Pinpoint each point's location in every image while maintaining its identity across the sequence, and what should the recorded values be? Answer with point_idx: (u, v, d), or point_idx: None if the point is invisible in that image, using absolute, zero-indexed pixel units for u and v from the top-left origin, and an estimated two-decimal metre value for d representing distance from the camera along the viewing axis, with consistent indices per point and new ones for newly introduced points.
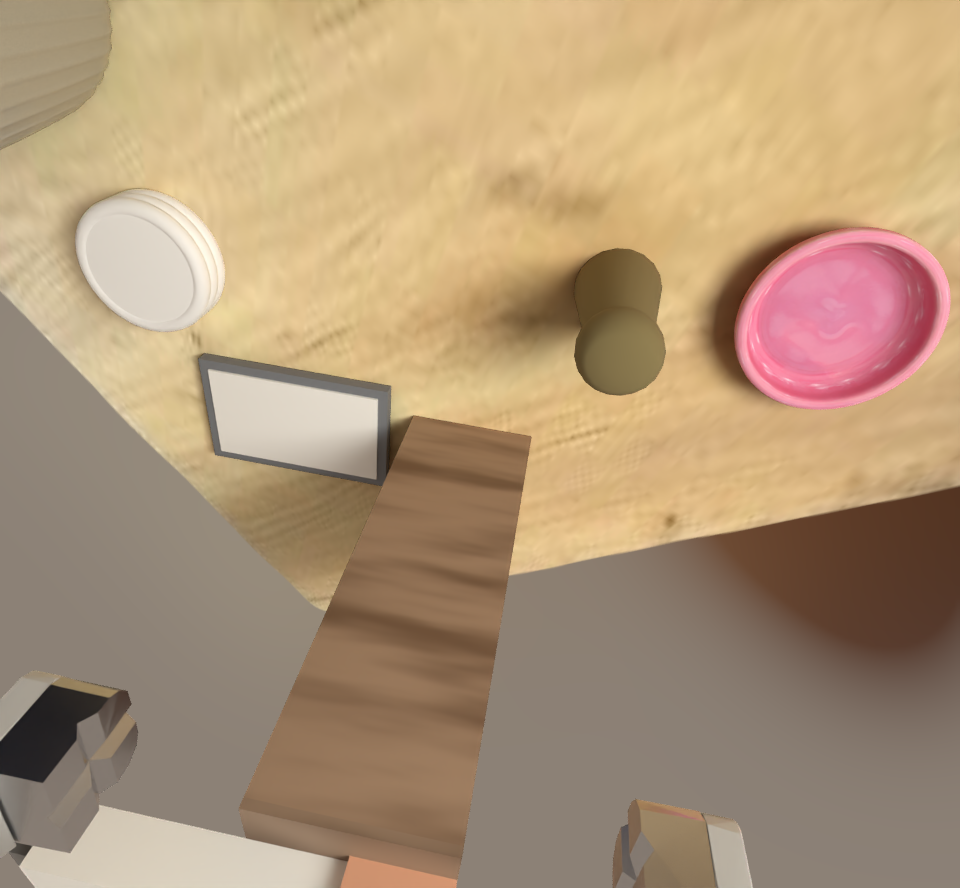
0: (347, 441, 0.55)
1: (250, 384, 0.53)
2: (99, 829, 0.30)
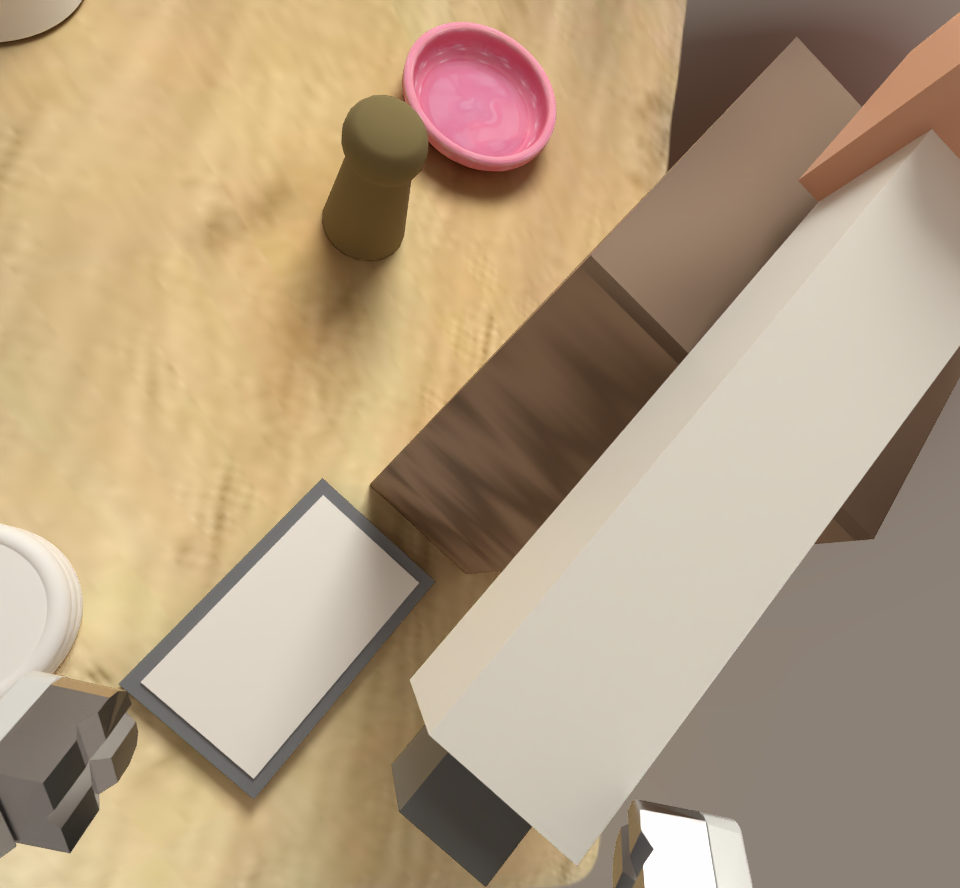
0: (350, 575, 0.41)
1: (199, 637, 0.37)
2: (503, 589, 0.12)
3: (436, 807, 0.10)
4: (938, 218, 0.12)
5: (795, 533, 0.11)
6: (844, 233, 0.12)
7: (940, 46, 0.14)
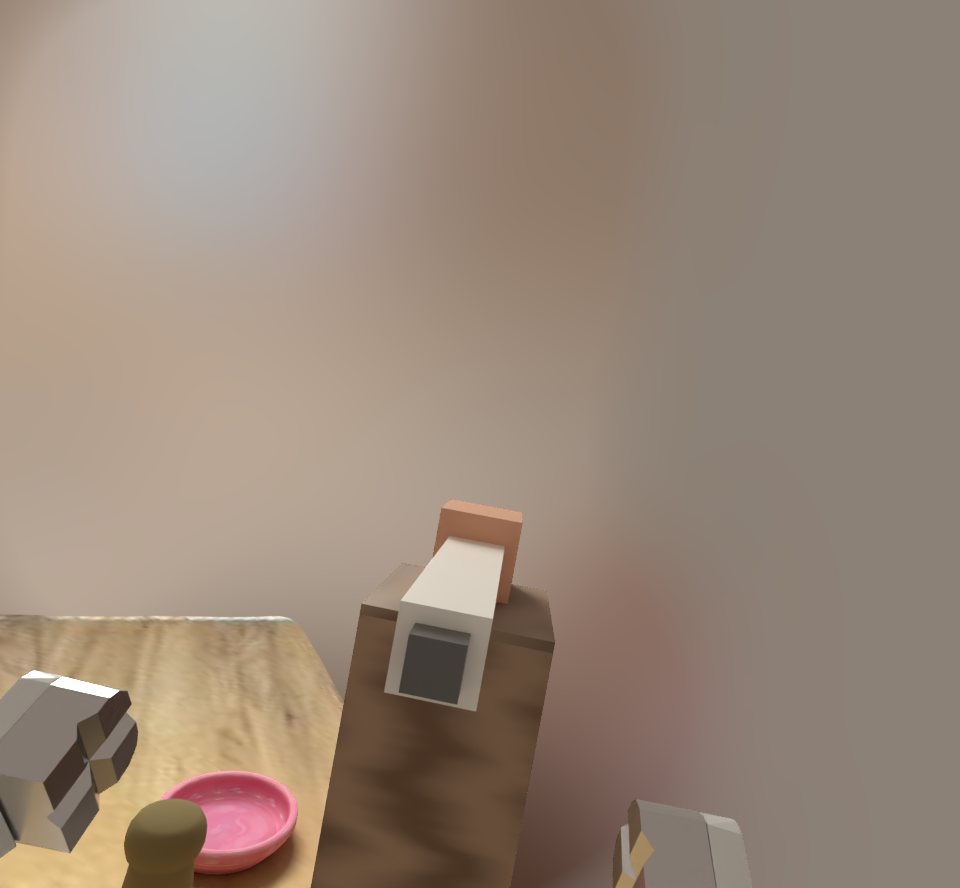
0: None
1: None
2: None
3: (424, 632, 0.20)
4: (469, 543, 0.33)
5: (490, 575, 0.27)
6: (442, 544, 0.32)
7: None
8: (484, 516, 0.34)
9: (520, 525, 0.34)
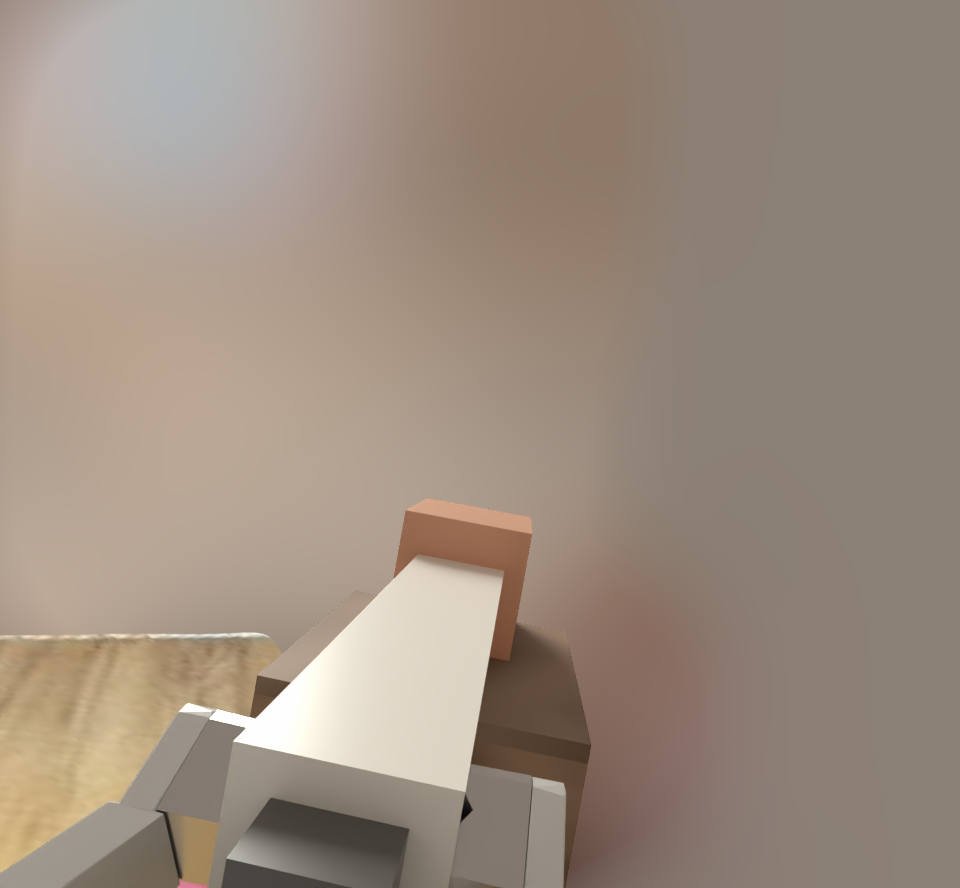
0: None
1: None
2: None
3: (276, 844, 0.07)
4: (447, 567, 0.21)
5: (475, 636, 0.14)
6: (401, 571, 0.19)
7: None
8: (472, 523, 0.22)
9: (528, 537, 0.22)
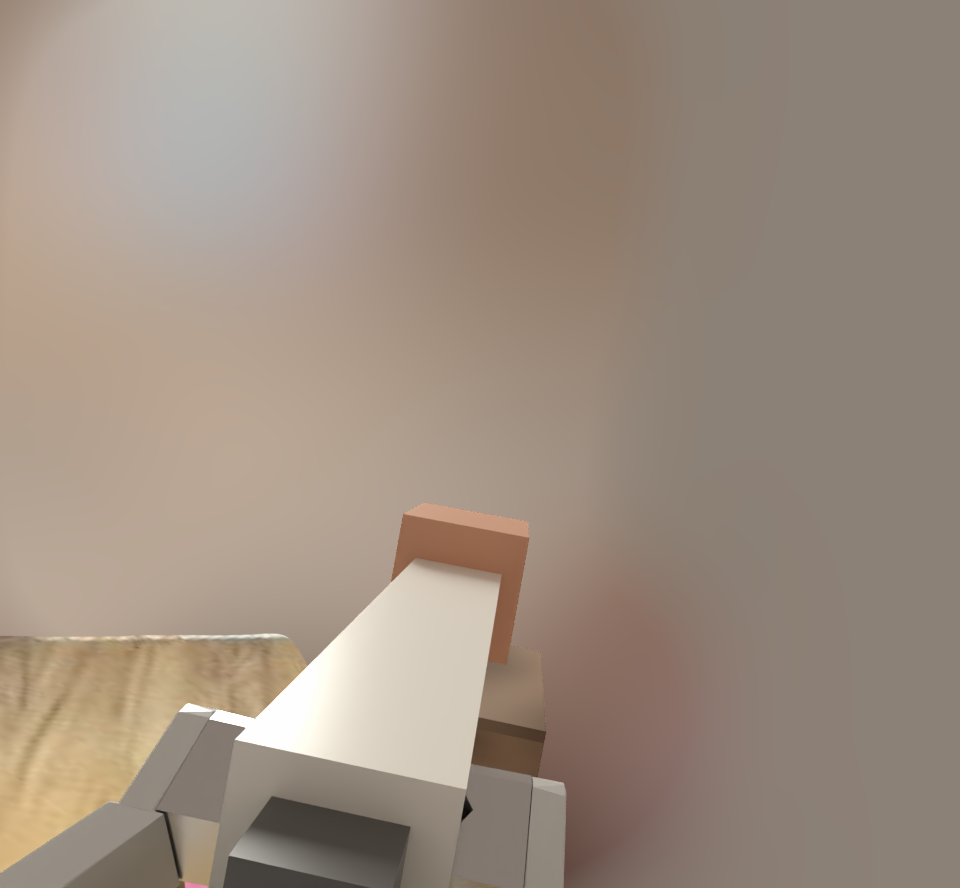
0: None
1: None
2: None
3: (279, 841, 0.07)
4: (445, 571, 0.21)
5: (474, 637, 0.14)
6: (399, 574, 0.19)
7: None
8: (470, 527, 0.22)
9: (526, 541, 0.22)
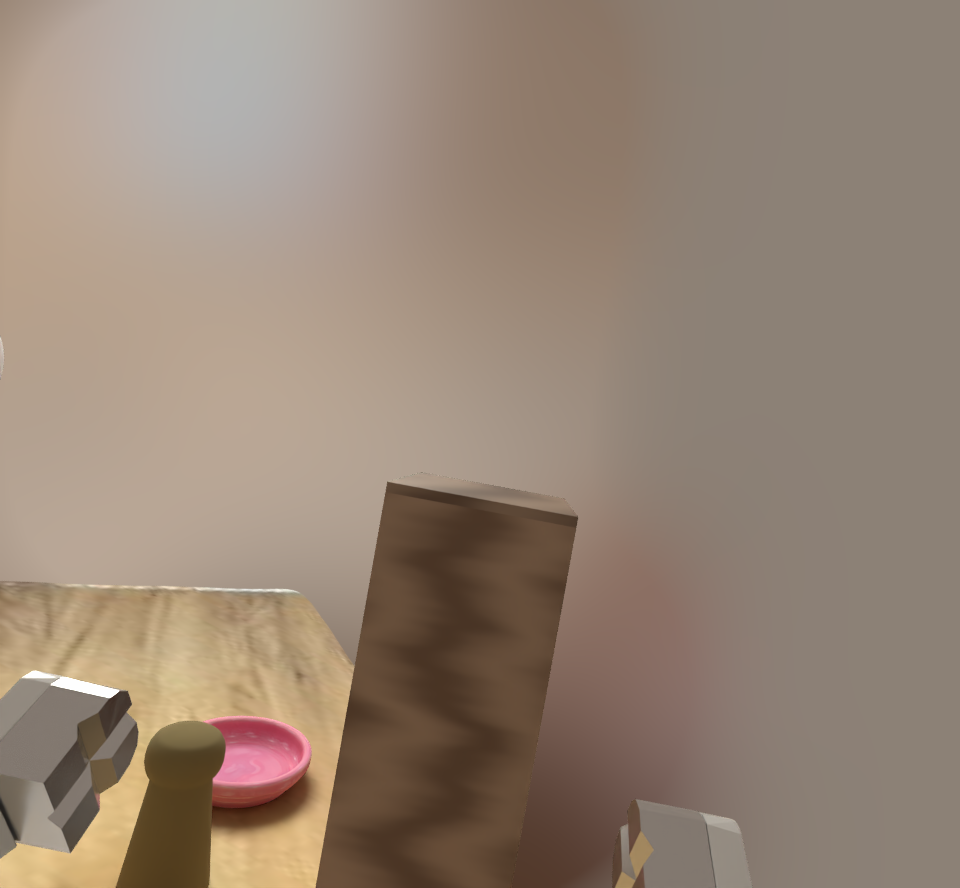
0: None
1: None
2: None
3: None
4: None
5: None
6: None
7: None
8: None
9: None
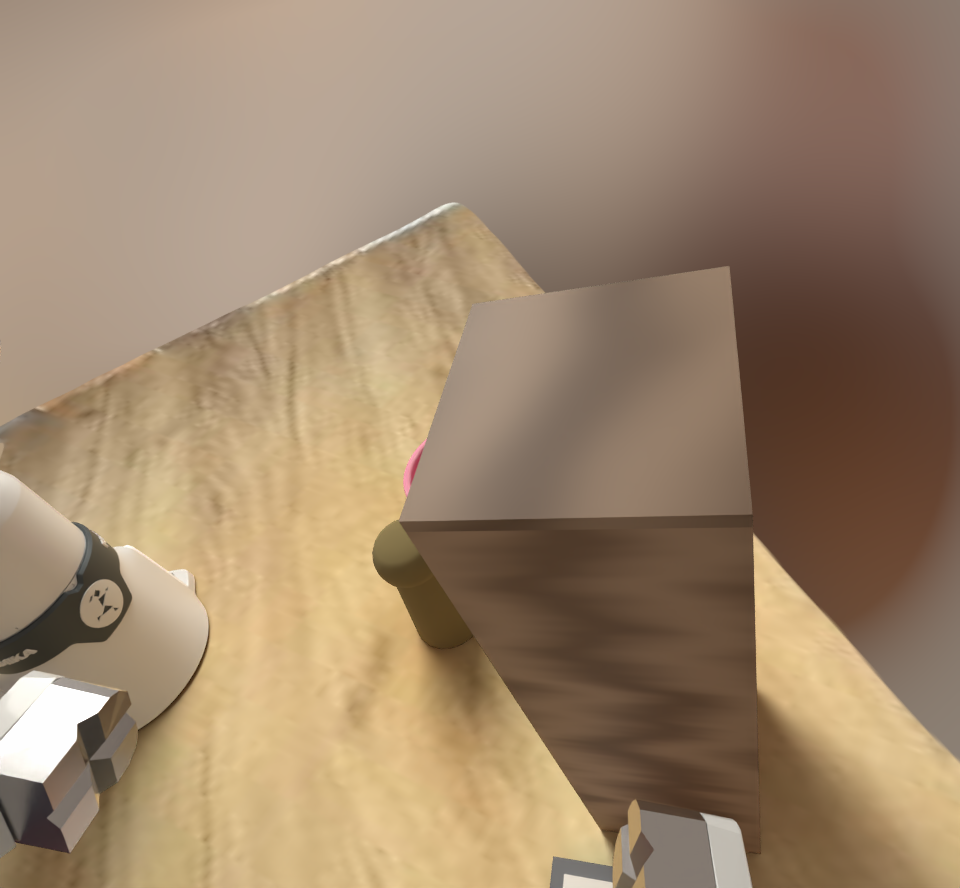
0: None
1: None
2: None
3: None
4: None
5: None
6: None
7: None
8: None
9: None
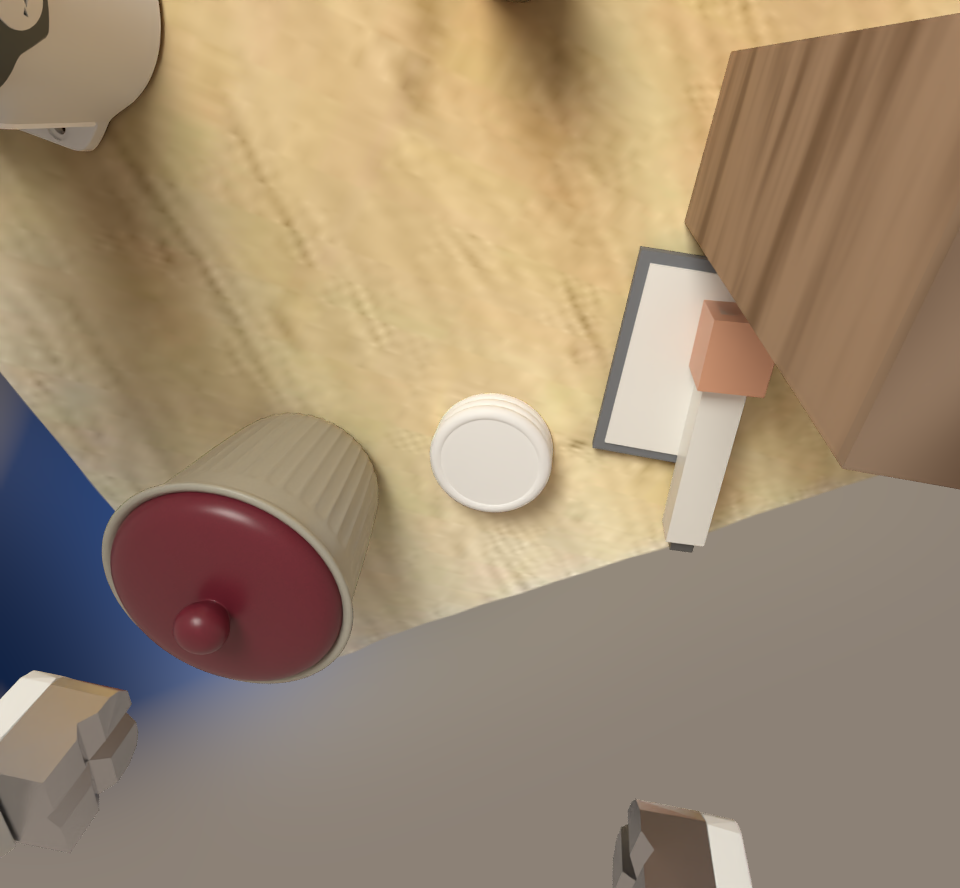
0: None
1: (623, 403, 0.50)
2: (668, 503, 0.52)
3: (675, 546, 0.53)
4: (717, 401, 0.45)
5: (717, 481, 0.49)
6: (695, 421, 0.46)
7: (701, 340, 0.44)
8: (732, 393, 0.44)
9: None
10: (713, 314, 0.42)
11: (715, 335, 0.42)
